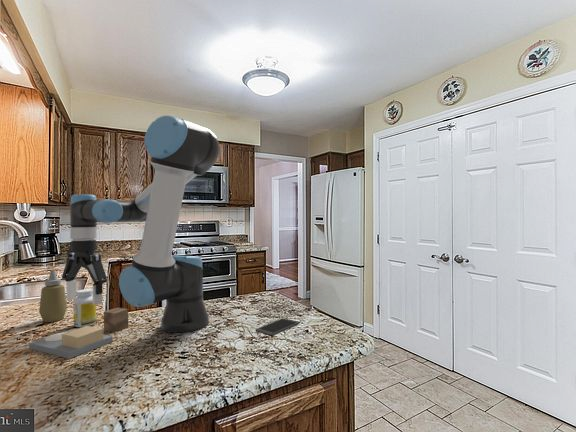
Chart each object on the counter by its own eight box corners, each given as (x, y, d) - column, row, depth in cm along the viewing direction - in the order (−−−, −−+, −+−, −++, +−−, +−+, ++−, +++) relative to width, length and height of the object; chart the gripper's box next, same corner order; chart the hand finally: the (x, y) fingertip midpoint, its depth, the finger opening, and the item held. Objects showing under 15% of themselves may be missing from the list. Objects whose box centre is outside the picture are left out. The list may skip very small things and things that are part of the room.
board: (112, 341, 91) (112, 326, 91) (69, 358, 80) (69, 341, 80) (73, 333, 98) (73, 319, 98) (29, 348, 87) (28, 332, 87)
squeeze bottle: (52, 324, 107) (51, 272, 108) (33, 323, 109) (32, 271, 109) (72, 317, 115) (72, 268, 115) (54, 316, 117) (54, 268, 117)
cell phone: (254, 331, 97) (254, 329, 97) (283, 320, 108) (283, 317, 108) (271, 337, 93) (271, 334, 93) (300, 324, 103) (300, 322, 103)
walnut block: (128, 327, 103) (128, 309, 103) (114, 332, 99) (114, 313, 99) (117, 325, 105) (117, 307, 105) (103, 330, 101) (103, 311, 101)
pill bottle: (100, 322, 109) (100, 288, 109) (83, 328, 103) (82, 293, 103) (87, 320, 111) (86, 287, 111) (69, 326, 105) (68, 292, 105)
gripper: (119, 239, 105) (119, 302, 105) (72, 237, 115) (72, 295, 115) (97, 241, 98) (97, 308, 98) (49, 239, 108) (50, 300, 109)
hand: (84, 301), depth 107 cm, fingers open, 13 cm apart
